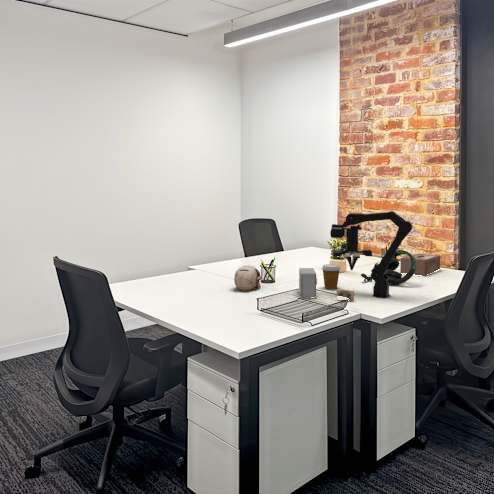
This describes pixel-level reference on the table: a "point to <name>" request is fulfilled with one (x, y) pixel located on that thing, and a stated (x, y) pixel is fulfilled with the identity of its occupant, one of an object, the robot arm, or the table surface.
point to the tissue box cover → (421, 264)
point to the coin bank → (247, 278)
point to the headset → (393, 265)
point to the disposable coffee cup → (331, 275)
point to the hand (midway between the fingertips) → (351, 270)
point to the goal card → (346, 294)
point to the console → (307, 282)
